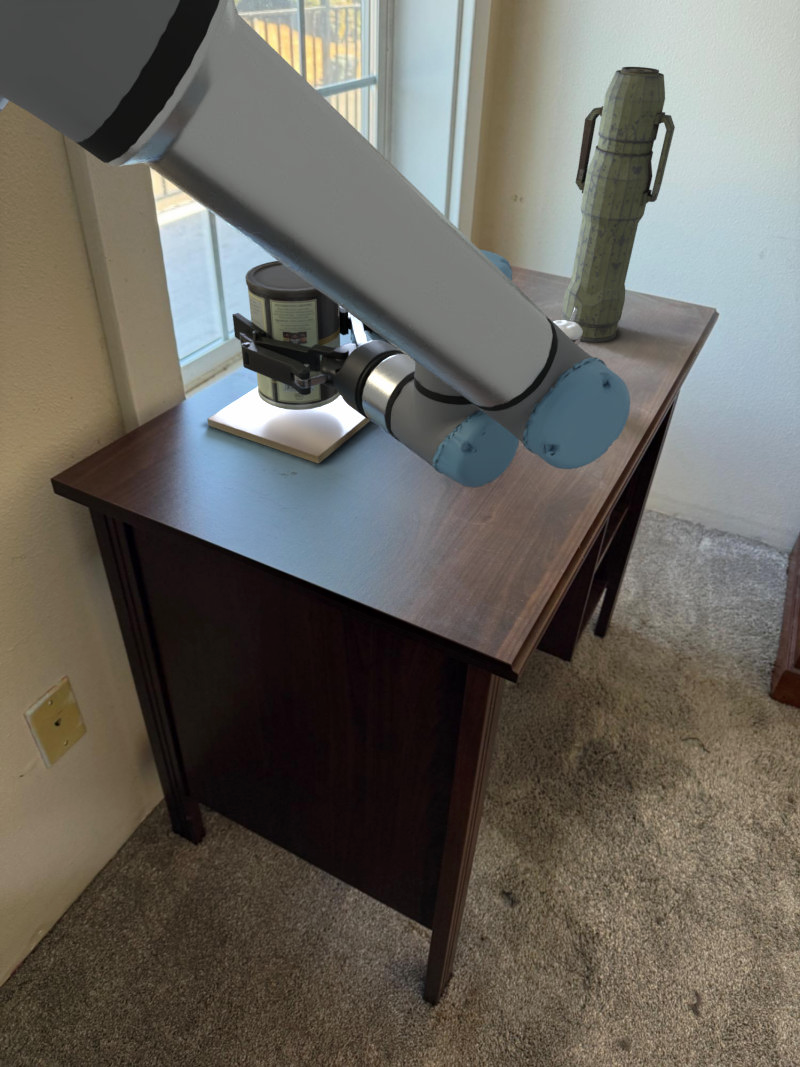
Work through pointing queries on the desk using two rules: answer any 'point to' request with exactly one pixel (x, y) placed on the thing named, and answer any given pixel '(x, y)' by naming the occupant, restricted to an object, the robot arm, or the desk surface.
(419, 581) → the desk surface
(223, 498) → the desk surface
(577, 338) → the milkshake
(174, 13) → the robot arm
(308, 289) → the coffee can
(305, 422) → the cork mat
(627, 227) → the thermos
